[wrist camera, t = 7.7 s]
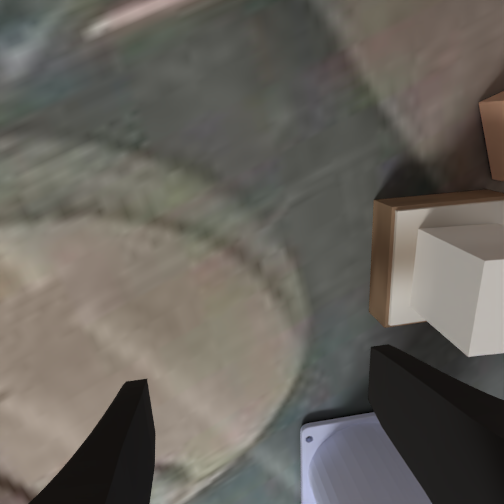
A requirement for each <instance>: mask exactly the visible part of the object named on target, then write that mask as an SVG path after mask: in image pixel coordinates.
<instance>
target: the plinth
mask: <svg viewBox="0 0 504 504" xmlns="http://www.w3.org/2000/svg"><path fill="white" fill-rule="evenodd" d="M494 223H498V224H501V225H504V193H501V192H496V191H492V190H487V189H484V190H473V191H463V192H452V193H441V194H431V195H420V196H410V197H399V198H389V199H378V200H374V207H373V230H372V253H371V276H370V298H369V312H370V313H371V314H372V315H373V316H374V317H375V318H376V319H377V320H378V321H379V322H380V323H381V324H382V325H383V326H384V327H385V328H387V327H394V326H401V325H408V324H414V323H421V322H427V321H426V320H425V319H424V318H423V317H421V316H420V315H419V314H418V313H417V312H416V311H415V310H413V309H412V308H411V307H410V300H411V290H412V281H413V272H414V263H415V254H416V245H417V236H418V229H421V228H436V227H450V226H465V225H480V224H494Z"/></svg>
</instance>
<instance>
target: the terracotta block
mask: <svg viewBox="0 0 504 504" xmlns="http://www.w3.org/2000/svg"><path fill="white" fill-rule="evenodd" d="M479 108H480V113H481V119H482V124H483V130H484V135H485V141H486V146H487V152H488V158H489V163H490V169H491V174H492V179H493V180H499V181H504V91H503V92H500V93H498V94H496V95H494V96H492V97H489V98H487V99H485V100H483V101H481V102H479Z"/></svg>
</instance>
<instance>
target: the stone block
mask: <svg viewBox="0 0 504 504" xmlns="http://www.w3.org/2000/svg"><path fill="white" fill-rule="evenodd" d="M410 307H411V308H412V309H413V310H415V311H416V312H417V313H418V314H419V315H420V316H421V317H423V318H424V319H425V320H426V321H427V322H428V323H430V324H431V325H432V326H433V327H434V328H435V329H436V330H438V331H439V332H440V333H441V334H442V335H443V336H445V337H446V338H447V339H448V340H449V341H450V342H451V343H453V344H454V345H455V346H456V347H457V348H458V349H460V350H461V351H462V352H463V353H464V354H465V355H467V356H468V357H472V356H480V355H489V354H498V353H504V225H501V224H498V223H494V224H480V225H465V226H450V227H436V228H421V229H418V236H417V245H416V254H415V263H414V272H413V281H412V290H411V300H410Z"/></svg>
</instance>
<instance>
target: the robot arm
mask: <svg viewBox="0 0 504 504" xmlns="http://www.w3.org/2000/svg"><path fill="white" fill-rule="evenodd" d="M368 400H369V402H370V404H371V406H372V408H373V410H374V412H371V413H366V414H360V415H354V416H348V417H342V418H336V419H330V420H324V421H318V422H312V423H307V424H304V425H303V426H302V427H301V430H300V441H301V504H504V400H502V399H499V398H496V397H494V396H492V395H489V394H487V393H485V392H482V391H480V390H478V389H476V388H474V387H472V386H469V385H467V384H465V383H463V382H461V381H459V380H457V379H455V378H453V377H451V376H449V375H447V374H445V373H443V372H441V371H439V370H437V369H435V368H433V367H431V366H430V365H428V364H426V363H424V362H422V361H420V360H418V359H416V358H415V357H413V356H411V355H409V354H407V353H405V352H403V351H401V350H399V349H397V348H395V347H393V346H391V345H381V346H374V347H371V354H370V371H369V388H368ZM308 436H310V437H309V438H307V437H308ZM154 466H155V428H154V421H153V415H152V409H151V402H150V396H149V390H148V383H147V379H142V380H135V381H128V382H126V383H125V384H124V385H123V386H122V388H121V389H120V391H119V392H118V394H117V396H116V397H115V399H114V400H113V402H112V403H111V405H110V406H109V408H108V409H107V411H106V412H105V414H104V415H103V417H102V418H101V420H100V421H99V422H98V424H97V425H96V427H95V428H94V429H93V431H92V432H91V434H90V435H89V436H88V438H87V439H86V440H85V441H84V443H83V444H82V445H81V446H80V448H79V449H78V450H77V451H76V453H75V454H74V455H73V456H72V458H71V459H70V460H69V461H68V462H67V464H66V465H65V466H64V467H63V468H62V469H61V471H60V472H59V473H58V474H57V475H56V476H55V477H54V478H53V479H52V480H51V482H50V483H49V484H48V485H47V486H46V487H45V488H44V489H43V490H42V491H41V492H40V493H39V494H38V495H37V496H36V497H35V498H34V499H33V500H32V501H31V502H30V503H29V504H149V503H150V496H151V489H152V481H153V474H154Z"/></svg>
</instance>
